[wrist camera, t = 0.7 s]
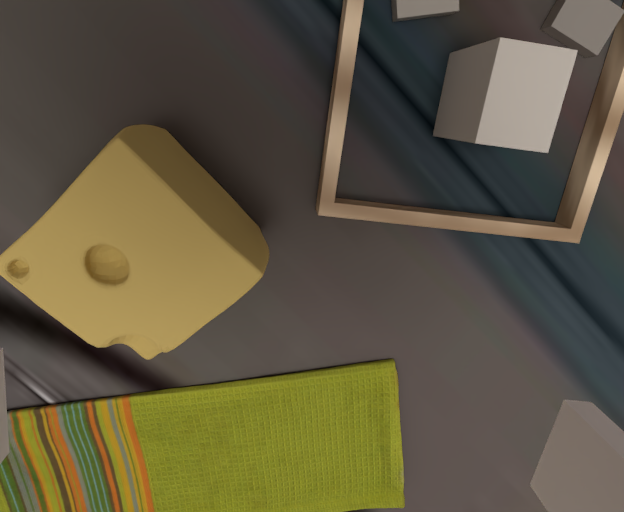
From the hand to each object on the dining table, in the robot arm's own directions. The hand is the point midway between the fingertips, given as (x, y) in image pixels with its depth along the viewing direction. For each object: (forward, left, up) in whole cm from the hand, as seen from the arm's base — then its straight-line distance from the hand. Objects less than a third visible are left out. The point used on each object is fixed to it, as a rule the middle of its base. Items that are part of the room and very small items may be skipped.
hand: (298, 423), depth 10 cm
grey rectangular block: (-15, +19, -23) cm, 34 cm away
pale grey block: (-9, +12, -23) cm, 28 cm away
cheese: (+2, -8, -23) cm, 25 cm away
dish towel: (+23, -5, -24) cm, 34 cm away
